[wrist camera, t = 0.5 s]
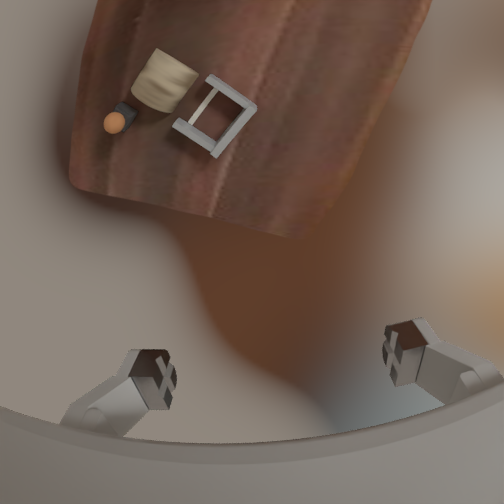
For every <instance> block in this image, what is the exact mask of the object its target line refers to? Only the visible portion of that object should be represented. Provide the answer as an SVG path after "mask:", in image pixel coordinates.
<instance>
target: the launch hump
mask: <svg viewBox="0 0 504 504" xmlns="http://www.w3.org/2000/svg"><path fill="white" fill-rule="evenodd" d="M199 75H200V74H198V73H197V72H195V71H194V70H192V69H191V68H189V67H187V66H186V65H184V64H183V63H181V62H179V61H178V60H176V59H174V58H173V57H171V56H169V55H168V54H166V53H164V52H163V51H161V50H159V49H157V48H156V49H155V51H154V52H153V54H152V55H151V57H150V58H149V60H148V61H147V63H146V64H145V66H144V67H143V69H142V71H141V72H140V74H139V75H138V77H137V79H136V80H135V82H134V84H133V85H132V87H131V92H132V94H133V95H134V96H135V97H136V98H137V99H138V100H139V101H141V102H142V103H144V104H145V105H147V106H149V107H151V108H153V109H156V110H158V111H162V112H166V113H172V112H173V111H174V109H175V108H176V106H177V105H178V104H179V102H180V101H181V99H182V98H183V96H184V95H185V94H186V92H187V91H188V90H189V88H190V87H191V85H192V84H193V83H194V81H195V80H196V79H197V77H198V76H199Z"/></svg>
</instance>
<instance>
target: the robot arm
mask: <svg viewBox="0 0 504 504" xmlns="http://www.w3.org/2000/svg"><path fill="white" fill-rule="evenodd" d="M384 335H385V336H386V340H385V341H384V343H383V347H382V354H383V360H384V363H385V365H386V367H387V368H389V369H391V371H390V377H391V379H392V381H393V383H394V385H395V387H398V386H402V385H406V384H411V383H414V382H416V384H417V385H418V386H420V387H421V388H423V389H424V390H425V391H427V392H428V393H430V394H431V395H433V396H434V397H435V398H437V399H438V400H439V401H441V402H442V403H444V404H445V405H444V406H442V407H439V408H436V409H433V410H430V411H427V412H423V413H420V414H417V415H414V416H410V417H407V418H404V419H399V420H396V421H392V422H388V423H384V424H380V425H376V426H371V427H367V428H362V429H357V430H352V431H347V432H342V433H336V434H330V435H325V436H317V437H310V438H302V439H293V440H284V441H272V442H257V443H229V444H228V443H226V444H225V443H224V444H211V443H180V442H164V441H154V440H144V439H135V438H127V437H123V436H124V435H125V434H126V433H127V432H128V431H129V430H130V429H131V428H132V427H133V426H134V425H135V424H136V423H137V422H138V421H139V420H140V419H141V418H142V417H143V416H144V415H145V414H146V413H147V412H148V411H149V410H169V408H170V405H171V402H172V398H173V397H172V395H171V392H172V391H173V390H174V389H175V388H176V383H177V375H176V370H175V368H174V366H173V365H172V364H171V363H169V360H170V355H169V353H168V351H167V350H165V349H142V350H141V349H131V350H130V351H128V353H127V355H126V357H125V359H124V361H123V363H122V365H121V366H120V368H119V370H118V372H117V374H116V376H112V377H111V378H109V379H107V380H106V381H104V382H103V383H101V384H100V385H98V386H97V387H95V388H94V389H92V390H91V391H90V392H88V393H87V394H85V395H84V396H82V397H81V398H79V399H78V400H76V401H75V402H73V403H72V404H70V406H69V408H68V410H67V411H66V413H65V415H64V417H63V418H62V420H61V422H60V424H55V423H51V422H48V421H44V420H41V419H37V418H34V417H30V416H27V415H24V414H21V413H18V412H15V411H12V410H9V409H7V408H4V407H1V406H0V504H504V378H503V377H502V375H501V374H500V373H499V371H498V370H497V368H496V367H495V366H494V364H493V363H492V362H491V361H489V360H487V359H485V358H482V357H480V356H477V355H476V354H473V353H471V352H469V351H467V350H464V349H462V348H460V347H457V346H455V345H453V344H451V343H448V342H446V341H440V339H439V338H438V337H437V335H436V334H435V332H434V331H433V330H432V329H431V327H430V326H429V324H428V323H427V322H426V320H425V319H424V318H422V317H420V318H416V319H412V320H410V321H404V322H400V323H395V324H390V325H387V326H386V327H385V332H384Z"/></svg>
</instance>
